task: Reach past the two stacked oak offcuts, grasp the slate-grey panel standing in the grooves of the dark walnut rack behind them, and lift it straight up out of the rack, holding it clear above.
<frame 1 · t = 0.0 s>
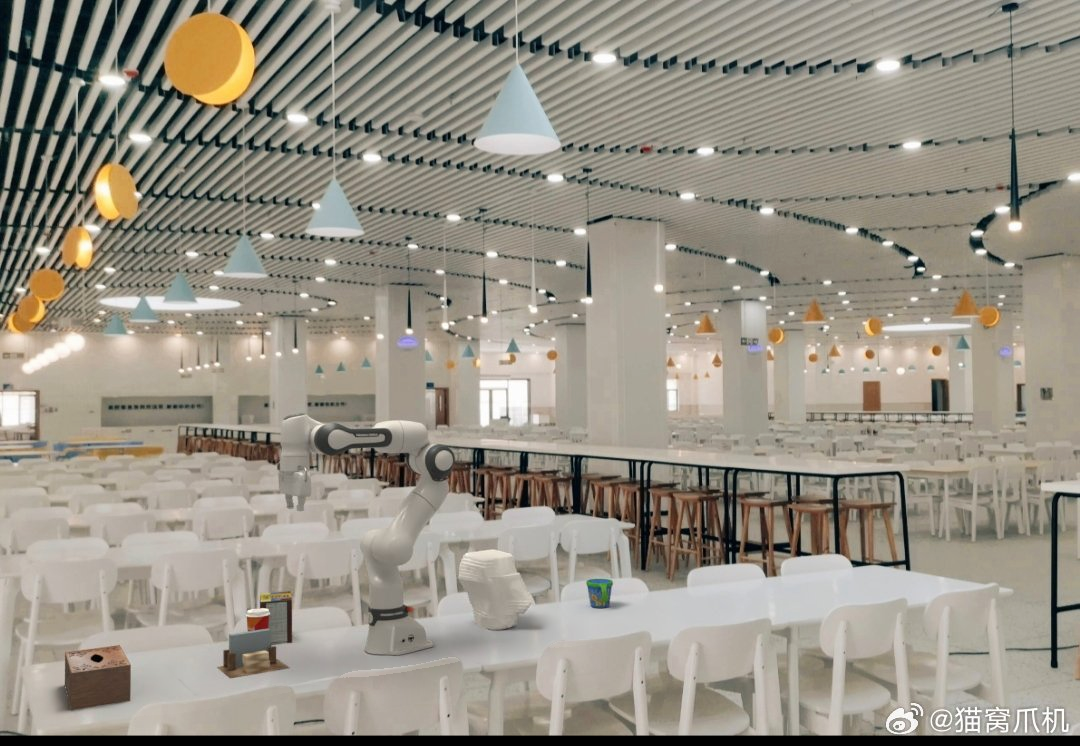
hand: (295, 509, 282), 48 cm above the table, fingers open, 8 cm apart
offcut upper: (255, 661, 272), point 3 cm above the table, touching offcut lower
white faceted lump: (492, 626, 328), on the table
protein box: (275, 642, 310), on the table
tissue box cover: (96, 694, 254), on the table
offcut lower: (256, 670, 272), point 1 cm above the table, touching offcut upper, rack
snack cup: (599, 607, 358), on the table
paper cup: (258, 654, 294), on the table
rack: (253, 670, 275), on the table
panel: (249, 664, 278), point 1 cm above the table, touching rack
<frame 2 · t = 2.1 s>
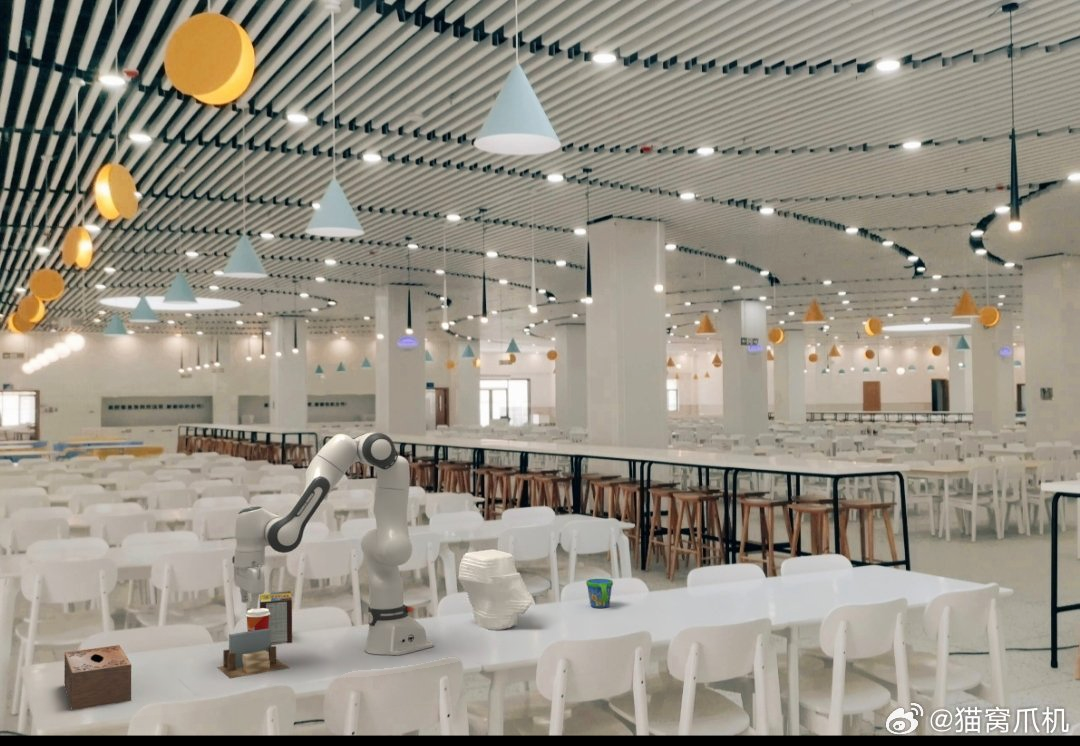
hand: (249, 604, 278), 19 cm above the table, fingers open, 8 cm apart
nothing on the table moved.
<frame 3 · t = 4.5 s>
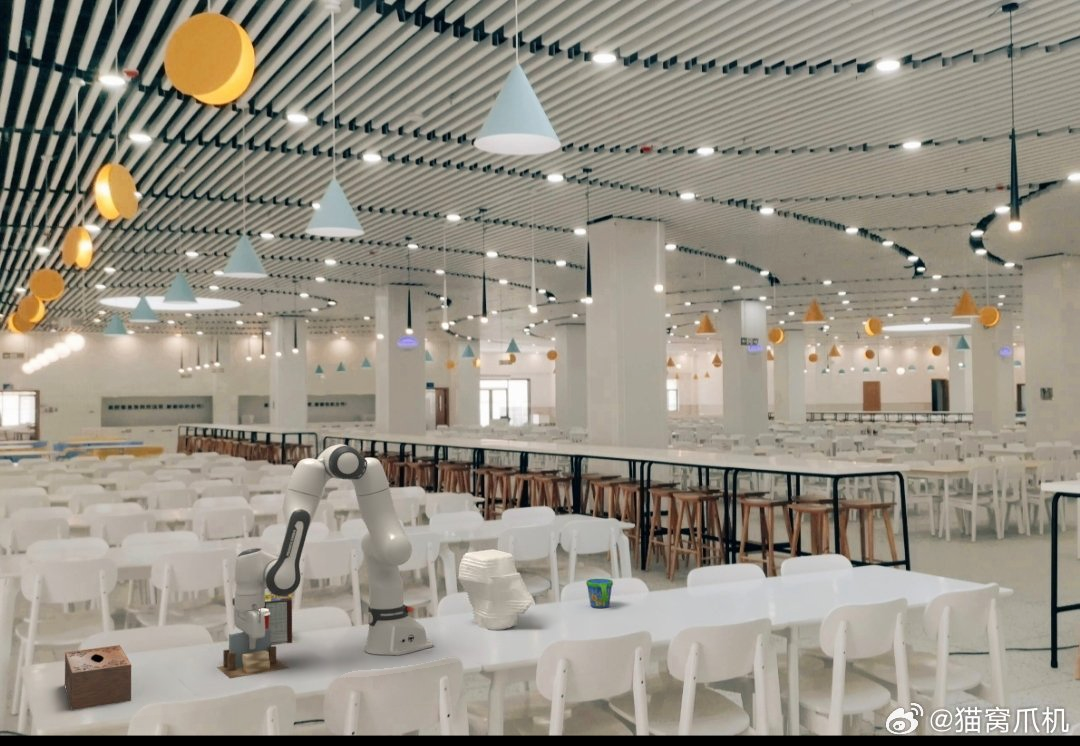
hand: (250, 647, 278), 6 cm above the table, fingers closed on panel, 2 cm apart
panel: (249, 664, 278), point 1 cm above the table, touching gripper, rack
everything else where it was.
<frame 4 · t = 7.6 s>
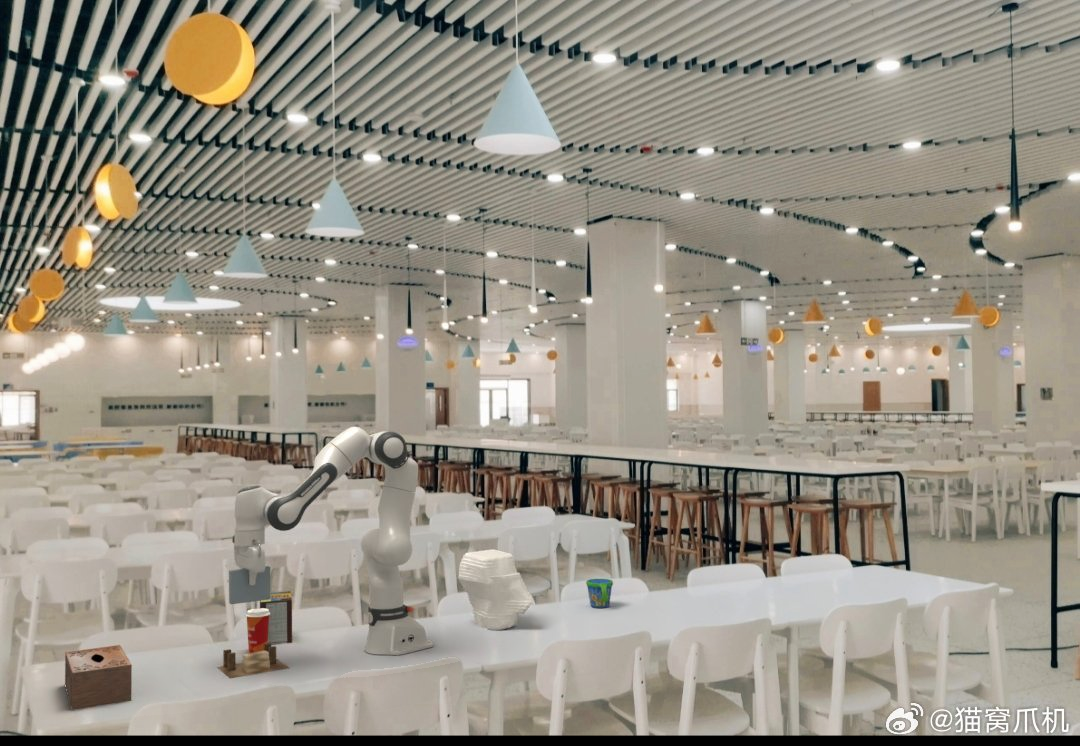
hand: (250, 583, 279), 26 cm above the table, fingers closed on panel, 2 cm apart
panel: (249, 601, 278), point 20 cm above the table, touching gripper
everything else where it was.
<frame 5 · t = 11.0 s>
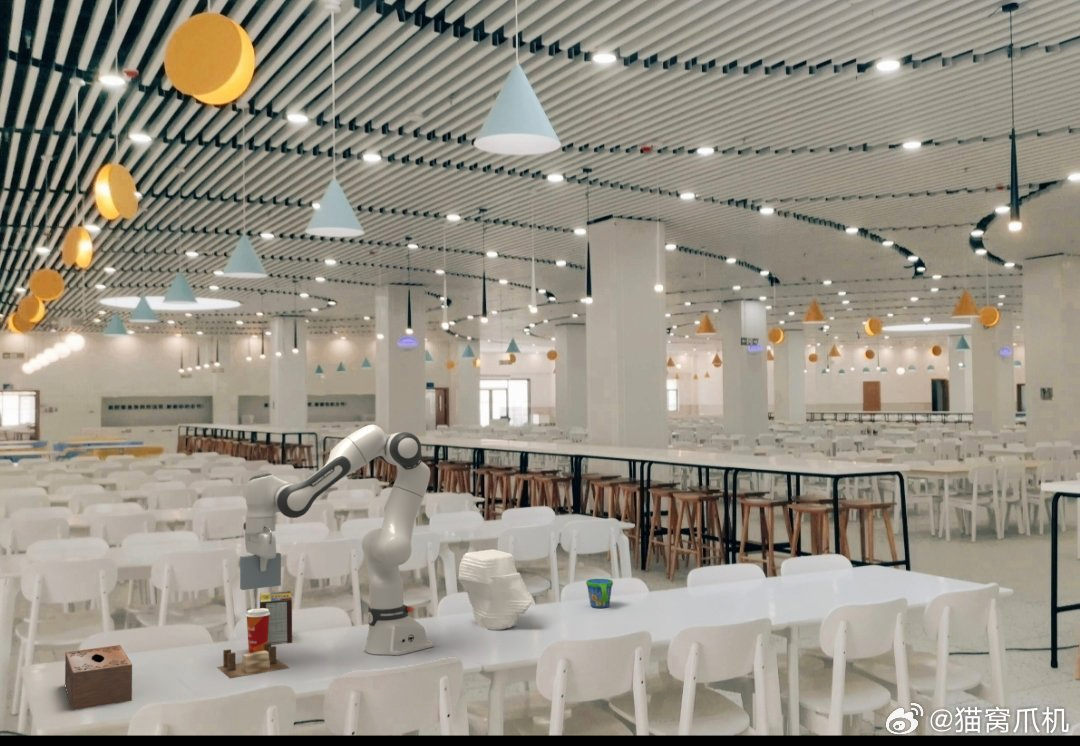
hand: (260, 570, 283), 29 cm above the table, fingers closed on panel, 2 cm apart
panel: (260, 587, 282), point 24 cm above the table, touching gripper
everything else where it was.
at the end: panel point 23.8 cm above the table; the gripper is holding panel; offcut upper moved 0.1 cm from its start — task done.
